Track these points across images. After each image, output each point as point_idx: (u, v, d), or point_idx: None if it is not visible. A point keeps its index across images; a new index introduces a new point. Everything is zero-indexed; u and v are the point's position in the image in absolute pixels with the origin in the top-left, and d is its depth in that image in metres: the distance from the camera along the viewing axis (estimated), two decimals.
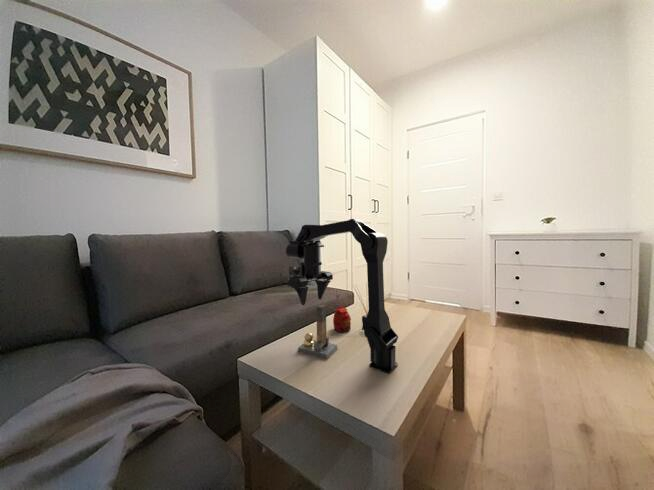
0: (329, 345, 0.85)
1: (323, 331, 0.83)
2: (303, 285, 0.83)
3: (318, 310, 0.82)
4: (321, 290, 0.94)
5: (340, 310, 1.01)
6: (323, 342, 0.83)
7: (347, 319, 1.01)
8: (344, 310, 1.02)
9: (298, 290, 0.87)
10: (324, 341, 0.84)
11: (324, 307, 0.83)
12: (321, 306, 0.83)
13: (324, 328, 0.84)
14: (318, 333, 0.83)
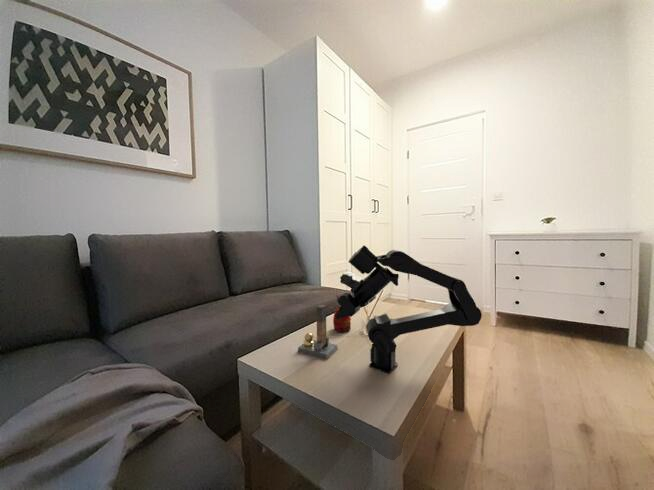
0: (329, 345, 0.85)
1: (323, 331, 0.83)
2: None
3: (318, 310, 0.82)
4: None
5: None
6: (323, 342, 0.83)
7: (347, 319, 1.01)
8: None
9: None
10: (324, 341, 0.84)
11: (324, 307, 0.83)
12: (321, 306, 0.83)
13: (324, 328, 0.84)
14: (318, 333, 0.83)
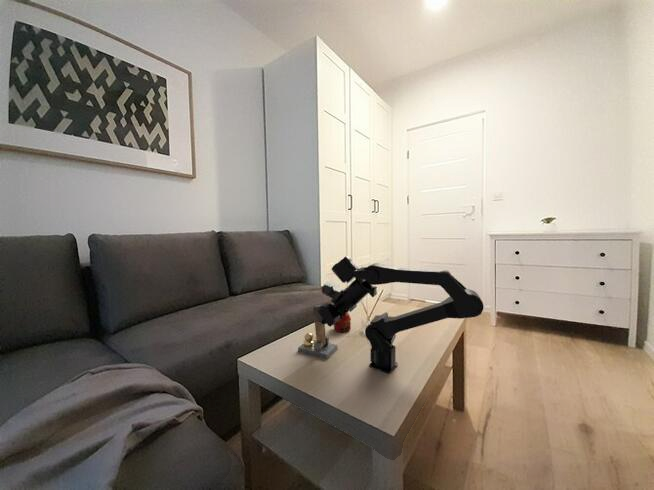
0: (329, 345, 0.85)
1: (322, 331, 0.83)
2: (333, 324, 0.73)
3: (315, 310, 0.83)
4: None
5: None
6: (323, 342, 0.83)
7: (347, 319, 1.01)
8: None
9: None
10: (324, 341, 0.84)
11: None
12: (318, 306, 0.84)
13: (323, 328, 0.84)
14: (317, 333, 0.83)
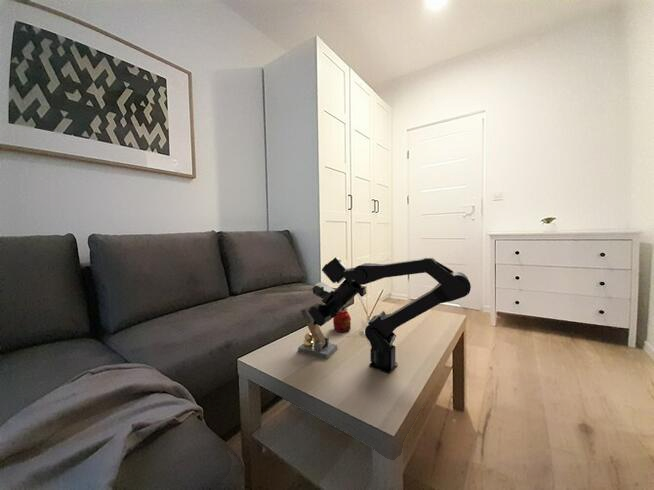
0: (329, 345, 0.85)
1: (317, 330, 0.84)
2: (323, 324, 0.75)
3: (303, 313, 0.85)
4: None
5: None
6: (321, 341, 0.83)
7: (347, 319, 1.01)
8: (344, 310, 1.02)
9: None
10: (322, 340, 0.84)
11: (308, 308, 0.86)
12: (305, 308, 0.86)
13: (317, 327, 0.85)
14: (313, 334, 0.84)
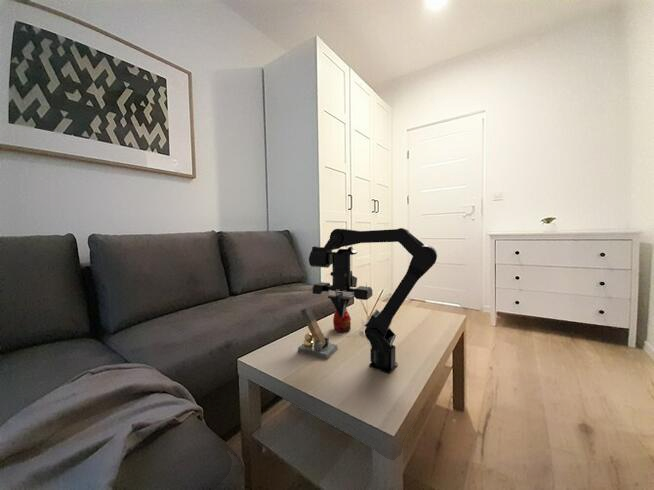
0: (329, 345, 0.85)
1: (317, 330, 0.84)
2: (315, 292, 0.80)
3: (303, 313, 0.85)
4: None
5: None
6: (321, 341, 0.83)
7: (347, 319, 1.01)
8: None
9: None
10: (322, 340, 0.84)
11: (308, 308, 0.86)
12: (305, 308, 0.86)
13: (317, 327, 0.85)
14: (313, 334, 0.84)
